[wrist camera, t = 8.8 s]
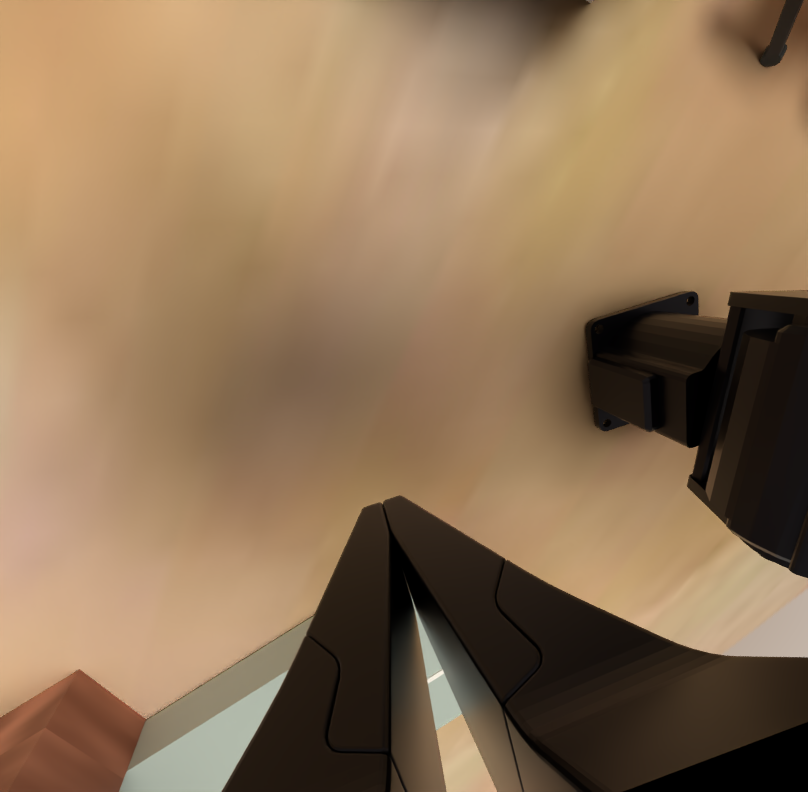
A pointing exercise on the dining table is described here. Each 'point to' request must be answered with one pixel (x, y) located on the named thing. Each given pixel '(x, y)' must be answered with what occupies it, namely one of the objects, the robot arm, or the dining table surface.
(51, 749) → the gold-topped wooden l-block
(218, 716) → the board
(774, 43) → the robot dog
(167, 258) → the dining table surface
